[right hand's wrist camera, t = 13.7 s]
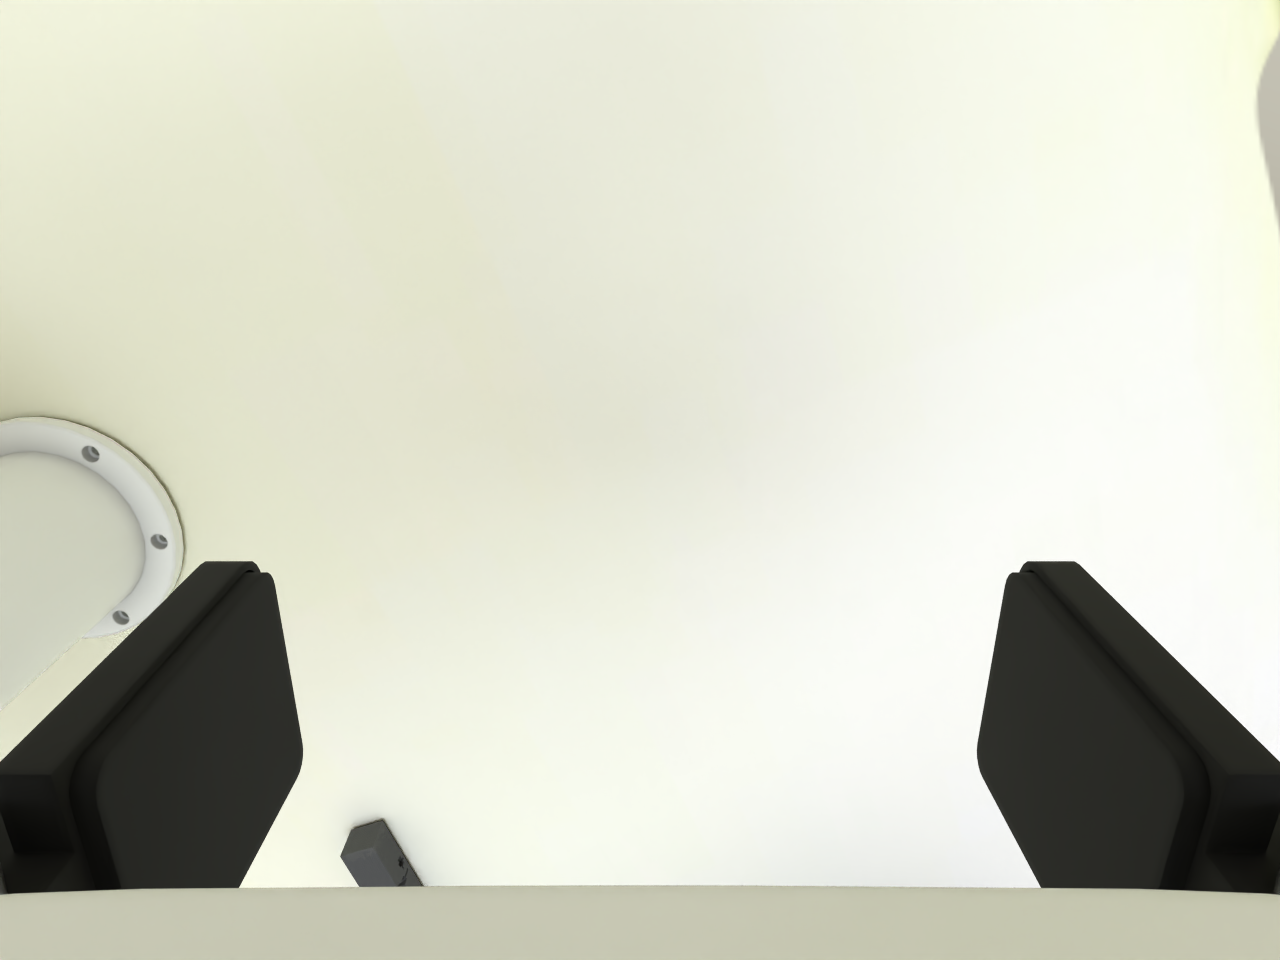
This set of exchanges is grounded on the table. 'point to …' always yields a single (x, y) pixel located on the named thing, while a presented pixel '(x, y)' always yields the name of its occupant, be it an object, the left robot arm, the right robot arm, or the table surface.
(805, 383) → the table surface
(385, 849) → the pillar
